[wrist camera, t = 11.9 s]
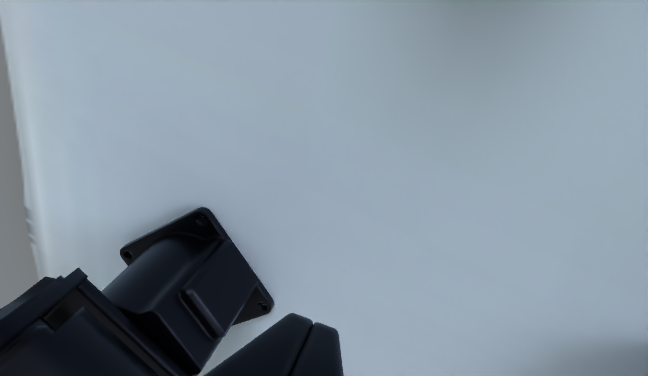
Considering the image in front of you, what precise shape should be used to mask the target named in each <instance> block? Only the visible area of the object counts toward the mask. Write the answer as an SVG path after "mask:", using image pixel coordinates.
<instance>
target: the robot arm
mask: <svg viewBox="0 0 648 376" xmlns="http://www.w3.org/2000/svg"><path fill="white" fill-rule="evenodd" d="M200 216H203V217H204V218H205V220H206V221H205V220H203V219H202V218H201V217H200ZM129 252H130V253H131V254H132V255H131V254H130V253H129ZM120 255H121V257H122V259H123V260H124V261H125V263H126V264H127V265H128V267H127V268H126V269H125V270H124V271H123V272H122V273H121V274H120V275H119V276H117V277H116V278H115V279H114V280H113V281H112V282H111V283H110V284H109V285H108V286H107V287H106V288H105V289H104V290H102V291H100V290H99V289H97V288H96V287H95V286H94V285H93V284H92V283H91V282H90V281H89V280H88V279H87V277H88V276H87V275H86V274H85V273H84V272H83V271H82V270H81V269H80V268H77V269H76V270H75V271H73V272H72V273H71V274H69V275H68V276H67V277H65V278H63V277H62V276H59V277H58V278H56V279H55V278H50V277H44V278H43V279H42V280H40V281H39V282H38V283H37V284H35V285H34V286H33V287H31V288H30V289H29V290H27V291H26V292H25V293H24V294H22V295H21V296H20V297H18V298H17V299H16V300H14V301H13V302H11V303H10V304H8V305H6V306H5V307H3V308H1V309H0V376H197V375H198V374H199V373H200V372H201V371H202V369H203V367H204V366H205V364H206V363H207V361H208V360H209V358H210V357H211V355H212V353H213V352H214V350H215V349H216V347H217V346H218V344H219V343H220V341H221V339H222V338H223V337H224V336H225V335H226V333H227V332H228V330H229V329H230V327H231V326H233V325H236V324H239V323H241V322H244V321H247V320H250V319H253V318H256V317H259V316H262V315H265V314H268V313H269V312H270V311H271V310H272V308H273V306H274V301H273V299H272V297H271V296H270V294H269V293H268V291H267V290H266V289H265V287H264V286H263V284H262V283H261V282H260V280H259V279H258V277H257V276H256V274H255V273H254V272H253V270H252V269H251V267H250V266H249V264H248V263H247V262H246V260H245V259H244V257H243V256H242V254H241V253H240V252H239V250H238V249H237V247H236V246H235V245H234V243H233V242H232V240H231V239H230V237H229V236H228V235H227V233H226V232H225V230H224V229H223V227H222V226H221V225H220V223H219V222H218V220H217V219H216V218H215V216H214V215H213V213H212V212H211V211H210V210H209V209H207V208H204V207H200V208H198V209H196V210H194V211H192V212H190V213H188V214H186V215H184V216H182V217H180V218H178V219H176V220H174V221H172V222H170V223H168V224H166V225H164V226H162V227H160V228H158V229H156V230H154V231H152V232H150V233H148V234H146V235H144V236H142V237H140V238H138V239H136V240H134V241H132V242H130V243H128V244H126V245H125V246H124V247H123V248H122V249H121V250H120ZM261 302H262V303H265V304H266V305H263V304H262V303H261ZM204 376H344V375H343V367H342V359H341V350H340V342H339V334H338V331H337V330H336V329H334V328H332V327H329V326H327V325H324V324H321V323H318V322H317V323H315V324H314V325H313V322H312V320H310V319H308V318H305V317H303V316H300V315H297V314H295V313H290V314H288V315H287V316H285V317H284V318H282V319H281V320H280V321H278V322H277V323H276V324H274V325H273V326H272V327H270V328H269V329H267V330H266V331H265V332H263V333H262V334H261V335H259V336H258V337H256V338H255V339H254V340H252V341H251V342H250V343H248V344H247V345H245V346H244V347H243V348H241V349H240V350H239V351H237V352H236V353H234V354H233V355H232V356H230V357H229V358H228V359H226V360H225V361H223V362H222V363H221V364H219V365H218V366H217V367H215V368H214V369H212V370H211V371H210V372H208V373H207V374H206V375H204Z"/></svg>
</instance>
